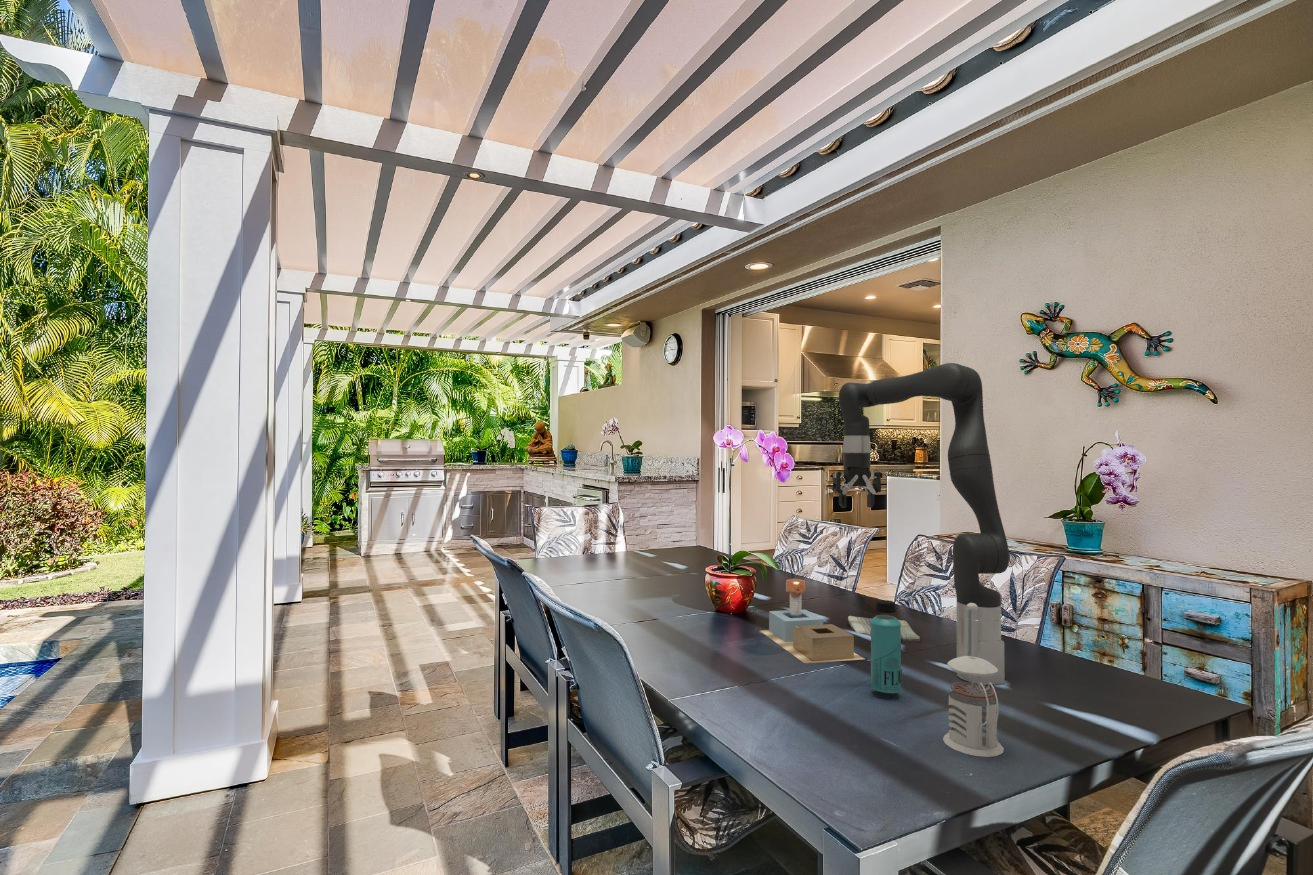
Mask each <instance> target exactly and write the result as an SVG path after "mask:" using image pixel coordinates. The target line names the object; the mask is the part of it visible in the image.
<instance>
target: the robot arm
mask: <svg viewBox="0 0 1313 875" xmlns="http://www.w3.org/2000/svg"><path fill="white" fill-rule="evenodd" d="M981 378H982V377H981V376H980V374H979V373H978V372H977V371H976V370H975V369H974V368H972V367H969V366H966V365H962V364H959V363H956V362H955V363H954V362H946V363H942V364H939V365H936V366H933V367H930V368H928V369H925V370H922V371H918V372H915V373H912V374H907V375H901V376H895V377H889V378H882V379H877V380H874V381H872V382H870V383H863V382H862V383H861V382H846V383H845V384H843V385H842V386H840V389H839V392H838V403H839V404H838V405H839V406H840V407H839V408H840V411H841V415H842V418H843V423H844V424H843V425H844V426H843V427H844V428H843V431H844V434H843V443H842V444H843V445H842V451H843V452H842V453H843V454H842V455H843V457H842V458H843V460H842V461H843V464H842V465H843V471H842V472H841V471H833V473H832V474H833V475H832V487H831V488H832V492H833V493H837V494H838V504H839V506H840V508H841V509H845V508H847V493H848V491H849V490H850V489H851V488H852V487H862V488H863V489H865V491H866V492H867V494H866V507H867V508H874V506H875V497H876V496H875V495H876V494H878V493H881V492H882V482H881V481H882V480H881V479H882V478H881V472H880V471H871V439H870V419H869V417H868V416H866V415H864V414H862V412H861V408H871V407H875V406H880V405H890V404H897V403H902V402H905V401H907V400H909V399H913V398H914V397H934V398H940V399H942V400H945V401H949V402H951V406H952V408H953V415H954V423H955V424H954V431H953V434H952V436H951V438H950V442H949V446H948V449H947V461H948V469H949V476H950V482H951V483H952V486H953V487H954V488H955V489H956V490H957V491H958V494H960V496H961V497H962V498H963V499H964V501H965V502H966V503H967V505H968V506H969V507H970V508H971V510H972V512H973V514H974V515H975V518H976V521H977V524H978V526H979V531H980V533H978V532H977V533H972V532H971V533H960V534H958V535H957V536H956V537H955V539H954V541H953V546H952V565H953V566H952V567H953V582H954V583H953V584H954V589H955V594H956V597H955V598H956V658H958V657H962V656H972V632H971V610H967V609H966V607H967V604H969V603H974V604H976V605H977V606H978V610H977V611H973V656H974V657H978V658H981V659H984V660H986V661H988V662H989V663H991V664H992V665H994V666H995V667H996V668H997V669H998V671H997V673H996V674H994V675H991V676H973V683H974V684H975V683H976V684H979V683H980V682H981V683H982V685H983V686H988V683H989V682H990V683H991V684H992V685H1003V684H1005V681H1006V680H1005V642H1004V640H1002V597H1001V596H1002V595H1001V594H1000V592H999V591H997V590H996V589H993V588H990V587H986V586H984V585H983V584H981V582H980V575H988V574H989V575H991V574H992V575H993V574H998V575H999V574H1002V573H1004V572H1006V571H1007V570H1008V567H1009V563H1010V550H1009V544H1008V540H1007V538H1006V537H1007V536H1006V533H1005V529H1004V526H1003V522H1002V518H1001V514H1000V509H999V505H998V500H997V494H996V489H995V482H994V474H993V466H992V460H991V455H990V451H989V450H990V449H989V446H988V438H987V430H986V425H985V417H984V396H983V395H984V394H983V383H982V379H981ZM870 478H871V480H872V482H871V481H870ZM842 479H844V481H843V482H842ZM956 676H957V677H958V678H959V679H961V680H963V681H965V682H968V683H969V682H970V683H971V682H972V675H966V674H962V673H959V672H956ZM980 685H981V684H980Z"/></svg>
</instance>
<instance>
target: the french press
mask: <svg viewBox="0 0 1313 875" xmlns="http://www.w3.org/2000/svg"><path fill="white" fill-rule="evenodd" d="M966 609H967V610H971V632H972V656H962V657H958V658H957V657H955V658H952V659H951V660H948V662H947V663H946V664H947V666H948V667H949V669H950V670H952V671H954V672H956V673H957V672H959V673H962V674H966V675H972V682H969V681H957V682H953V683H952V684H951V685H950V688H951V691H949V693H948V706H951V707H949V708H948V713H949V714H950V713H951V714H950V715H949V716H948V720H950V722H948V727H949V728H950V727H951V728H950V729H949V730H948V732H947V733H945V734H944V735H943V737H942V741H943V742H944V743H945V745H947V746H948V747H949V748H951V749H952V750H955V751H957V752H960V753H963V754H965V755H971V756H975V757H984V758H986V757H987V758H989V757H996V756H997V757H998V756H999V755H1002V754H1003V753H1004V749H1005V748H1004V747H1003V746H1002V744H1001V743H1000V742H999V741H998V726H997V725H998V719H999V698H998V696H997V692H996V690H995V687H994V684H991V683H990V682H989V683H988V685H982V683H981V682H980V683H979V684H977V683H973V676H991V675H994V674H996V673H997V671H998V669H997V668H996V667H995V666H994V665H992V664H991V663H989V662H988V661H986V660H984V659H981V658H978V657H974V656H973V611H977V610H978V606H977V605H976V604H974V603H969V604H967V607H966ZM980 684H981V685H980ZM990 686H991V687H990ZM974 704H978V705H974ZM982 705H983V706H985V707H986V708H983V706H982ZM983 713H986V715H983ZM983 720H985V721H984V722H983ZM983 727H986V729H983Z"/></svg>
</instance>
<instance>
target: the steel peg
mask: <svg viewBox="0 0 1313 875" xmlns="http://www.w3.org/2000/svg"><path fill="white" fill-rule="evenodd" d="M785 591H786V593H789V610H790V618H802V610H803V609H802V606H803V605H802V604H803V603H802V601H803V600H802V599H803V598H802V594H805V593H806V580H804V579H801V578H787V579H786V580H785Z"/></svg>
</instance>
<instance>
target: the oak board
mask: <svg viewBox="0 0 1313 875" xmlns="http://www.w3.org/2000/svg"><path fill="white" fill-rule="evenodd" d="M759 634H763V635H765V637H768V638H769V639H770V640H772V641H773V642H774V643H776V644H777V645H778V646H780V647H781V648H783V649H784V650H786V652H788V653H789V654H791V655H792V656H794V657H795V658H797V659H798V660H799V661H800V662H802V663H803V664H814V663H815V664H817V663H818V664H819V663H828V662H829V663H832V662H843V661H844V662H845V661H858V660H859V661H860V660H862V661H863V660H865V658H864V657H862V656H861V655H859V654H857V653H856V652H854V658H852V659H838V660H823V661H811V660H810V659H808V658H807V657H806V656H804V655H803V654H801V653H800V652H798V651H797V650H796V649H794V648H793V642H784V641H783V640H781V639H780V638H778V637H777V636H776V635H774V634H773V633H771V632H770V631H769V629H763V630H760V629H759Z"/></svg>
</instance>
